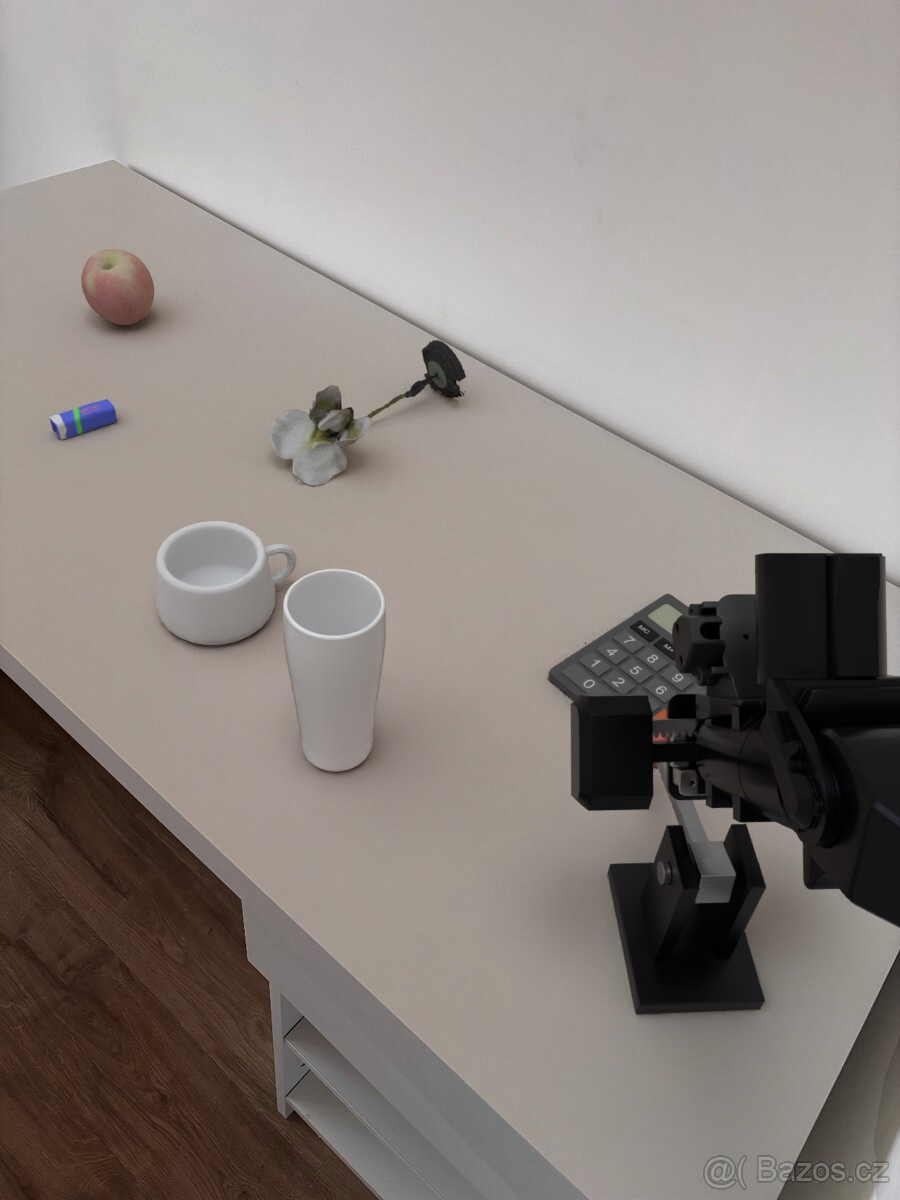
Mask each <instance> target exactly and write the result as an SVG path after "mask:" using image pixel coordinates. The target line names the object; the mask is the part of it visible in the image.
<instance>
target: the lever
mask: <svg viewBox="0 0 900 1200" xmlns="http://www.w3.org/2000/svg"><path fill="white" fill-rule="evenodd" d="M653 741H666V735H665V738H662V737H661V736H660V733H659V735H658V738H655V737H654V736H653ZM653 768H657V770H658V772H659V775H660V778H661V781H662V784H663V786H664V789H665V791H666V794H667V797H668V800H669V802H670V804H671V807H672V810H673V813H674V815H675V818H676V820H677V824H678V825H683V829H684V832H685V836H686V840H687V843H688V847H689V851H690V855H691V858H692V862H693V866H694V870H695V873H696V877H697V881H698V885H699V888H700V890H699V892H698V894H697V897H696V899H695V901H694V903H695V904H697V903H728V902H730V898H731V894H732V891H733V887H734V883H735V879H736V876H737V874H736V872H735V869H734V867H733V864H732V862H731V860H730V857H729V855H728V852H727V850H726V848H725V845H724V843H723V842H724V840H719V841H718V840H714V841H713V840H711V841H709V838H708V836H707V834H706V830H705V829H704V826H703V823H702V821H701V818H700V816H699V814H698V811H697V808H696V806H695V803H694V800H676V799H674V798H673V797H672V796H671V795H670V794H669V793H668V791H667V766H666V762H654V763H653Z"/></svg>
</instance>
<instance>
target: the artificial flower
mask: <svg viewBox="0 0 900 1200" xmlns="http://www.w3.org/2000/svg"><path fill="white" fill-rule="evenodd" d="M421 355H422V361H423V362H424V365H425V369H426V372H425V373H424V374H423V376H424V379H422V380H417V381H415V382H414V383H413V384H412V385H410V384H409V386H410V389H409V390H407V391H405V393H400V394H399V395H397V396H395V397H393V398H392V399H391V400H390V401H389V402H387V403H386V404H384V405H383V406H381V407H379V408H376V409H375V410H372V411H371V412H370V413H369V414H367V415H366V416H362V417H359V418H356V419H355V418H354V416H355V411H354V409H353V406H349V407H346V408H345V407H344V408H343V405H342V403H343V401H342V393H341V392H342V391H341V390H340V388H339V385H335V384H329V385H327V386H326V387H325V388H324V389H322V390H319V391H317V392H315V395H314V396H313V399H312V401H311V404H310V406H309V413H308V412H306V411H305V410H303V409H299V408H290V409H287V410H285V411H284V413H283V414H281V416H280V417H277V418H276V419H275V420H273V421H271V424H270V427H269V431H268V435H267V438H268V442H269V446H270V447H271V451H272V453H273V454H274V455H275V456H276V457H278V458H281V459H284V460H291V461H292V474H293V475H294V476H295V478H297V479H296V480H297V482H298V483H300V484H301V485H305V484H306V485H308V486H310V487H318V486H321V485H325V484H327V483H328V482H329V481H331V479H332V478H333V477H334V476H336V475H338V474H340V473H342V472H343V471H344V470H345V469H346V468H347V463H348V460H347V456H346V454H345V453H344V450H343V449H342V447H345V446H350V445H352V444H353V445H354V444H355V443H356V442H358V440H359V439H361V438H362V437H364V435H365V434H366V432H368V430H369V429H370V427H371V425H372V418H373V417H375V416H376V415H378V414H380V413H381V412H383V411H384V410H386V409H388V408H389V407H391V406H392V405H394V404H395V403H397V402H399V401H400V400H402V399H409V398H415V397H416V396H417V395H419V394H420V393H421V392H422V391H423V390H425V388H426V387H427V386H429V387H430V388H431V389H432V390H433V391H434V392H439V393H440V394H441V395H443V396H445V397H446V398H447V399H454V398H455V399H456V398H462V397H463V396H465V394H464V393H467V391H466V390H464V392H463V391H461V386H460V385H459V384H458V383H460V382H462V381H463V380H465V378H467V375H466V373H465V372H466V371H465V369H464V367H463V364H462V363H461V361H460V359H459V357H458V356H457V354H456V353H455V352H454V350H453V349H452V348H451V347H450V346H449V344H447V343H445V342H444V341H441V340H439V339H432V341H429V342H428V343H427V345H425V346H424V347H423V348H422V350H421ZM457 382H458V383H457ZM403 389H404V390H405V387H404V388H403Z"/></svg>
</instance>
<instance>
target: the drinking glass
mask: <svg viewBox="0 0 900 1200" xmlns="http://www.w3.org/2000/svg"><path fill="white" fill-rule="evenodd" d="M282 605H283V606H282V609H283V611H282V612H283V614H282V625H283V626H282V627H283V630H282V631H283V643H284V644H283V645H284V652H285V653H284V654H285V658H286V665H287V669H288V675H289V680H290V686H291V691H292V696H293V702H294V707H295V713H296V717H297V723H298V729H299V741H300V748H301V751H302V754H303V755H304V757H305V758H306V760H307V761H308V762H309V763H310V764H312V765H313V766H314V767H315V768H318V769H321V770H323V771H327V772H345V771H348V770H351V769H354V768H356V767H358V766H359V765H360V764H362V763H363V762H364V761H365V760H366V759H367V757H369V755H370V752H371V750H372V747H373V744H374V726H375V717H376V711H377V705H378V697H379V691H380V685H381V678H382V672H383V666H384V659H385V653H386V639H387V613H386V609H387V608H386V598H385V595H384V593H383V591H382V589H381V588H380V586H379V585H378V584H377V583H376V582H375V581H374V580H372V579H371V578H370V577H369V576H367V575H364V574H363V573H360V572H357V571H355V570H351V569H350V570H349V569H345V568H325V569H320V570H316V571H313V572H310V573H308V574H305V575H303V576H302V577H300V578H298V579H297V580H296V581H294V582H293V583H292V584H291V585H290V586H289V588H288V589H287V591H286V593H285V595H284V598H283V604H282Z"/></svg>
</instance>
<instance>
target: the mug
mask: <svg viewBox="0 0 900 1200" xmlns="http://www.w3.org/2000/svg"><path fill="white" fill-rule="evenodd" d="M279 554H282V555H284V556H286V563H285V565H284V567H283V568H282V569H281V570H280V571H279V572H277V573H275V574H272V571H271V566H270V562H269V557H271V556H273V555H279ZM296 565H297V555H296V551H295V550H294V548H292V547H291V546H289V545H287V544H284V543H275V544H274V543H273V544H271V545H267V546H265V544H264V542H263V540H262V539H261V538H260V537H259V536H258V534H256V532H254V531H252V530H251V529H249V528H248V527H247V526H244V525H241V524H239V523H236V522H230V521H224V520H208V521H207V520H206V521H201V522H196V523H192V524H189V525H187V526H184V527H181V528H180V529H178V530H176V531H174V532H173V533H170V534H169V535H168V537H166V538H165V540H163V541H162V543H161V545H160V546H159V549H158V551H157V553H156V559H155V581H156V582H155V599H156V601H155V602H156V608H157V612H158V615H159V619H160V621H161V623H162V624H163V625H164V627H165V628H166V629H167V631H170V632H171V633H172V634H173V635H175V636H176V637H179V639H183V640H185V641H187V642H190V643H192V644H197V645H202V646H203V645H204V646H223V645H226V644H227V645H228V644H233V643H236V642H239V641H241V640H243V639H246V638H248V637H250V636H251V635H253V634H254V633H256V632H257V631H259V630H260V629H261V628H263V626H264V625H265V624H266V623H267V622H268V620H270V618H271V617H272V615H273V612H274V609H275V607H276V589H275V588H276V587H275V585H278V584H279V583H281V582H283V581H285V580H286V579H287V578H289V577H290V576H291V574H292V573H293V572H294V570H295V569H296Z"/></svg>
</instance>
